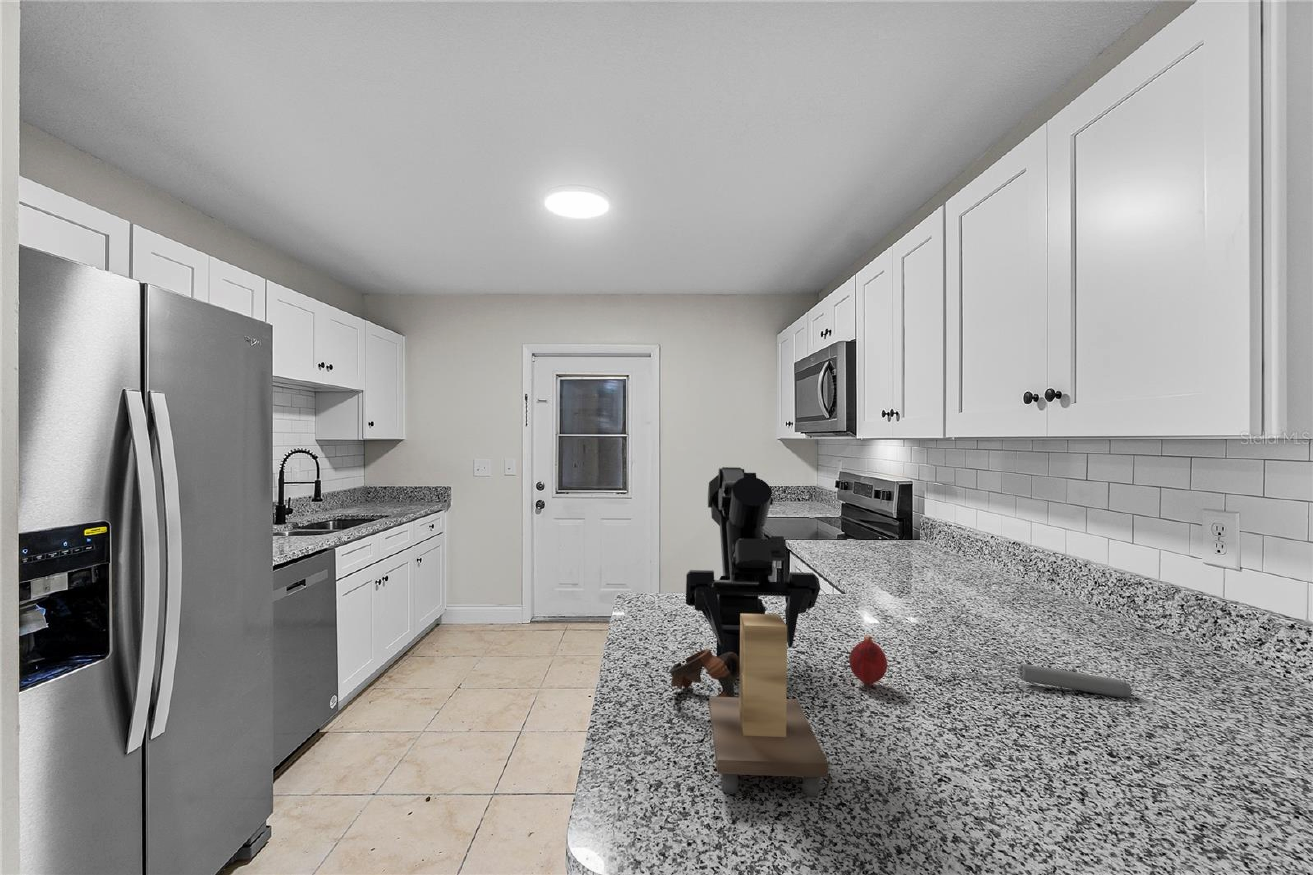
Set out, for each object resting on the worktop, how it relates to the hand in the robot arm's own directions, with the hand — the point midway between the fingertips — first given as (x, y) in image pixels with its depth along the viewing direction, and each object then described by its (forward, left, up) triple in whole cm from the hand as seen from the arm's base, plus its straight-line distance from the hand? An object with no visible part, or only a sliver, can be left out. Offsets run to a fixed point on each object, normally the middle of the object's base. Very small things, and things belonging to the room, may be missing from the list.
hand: (756, 645), depth 76 cm
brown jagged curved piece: (-9, +9, -12) cm, 18 cm away
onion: (+14, +24, -12) cm, 30 cm away
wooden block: (+2, -5, -8) cm, 10 cm away
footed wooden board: (+2, -5, -12) cm, 13 cm away
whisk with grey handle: (+37, +35, -12) cm, 52 cm away
